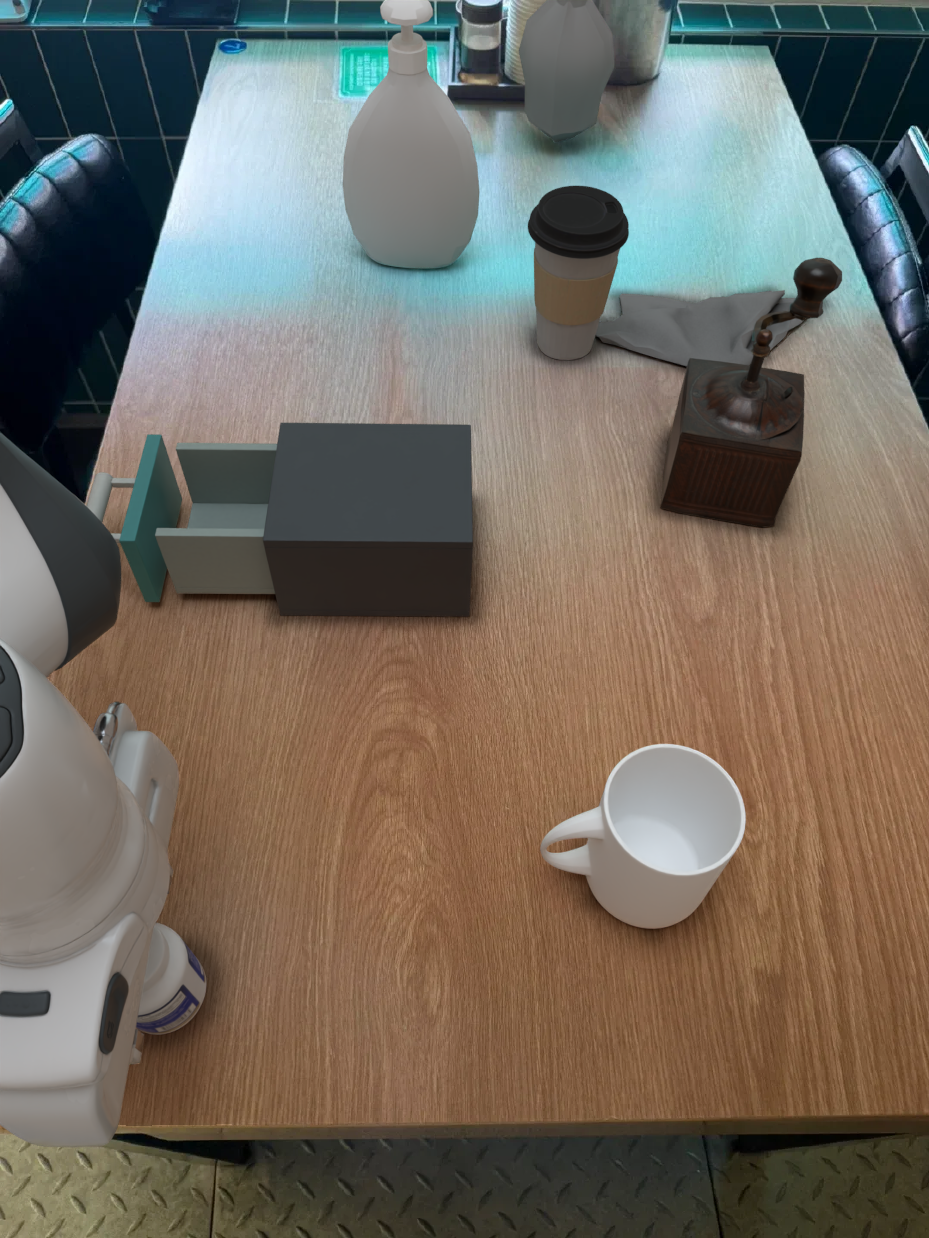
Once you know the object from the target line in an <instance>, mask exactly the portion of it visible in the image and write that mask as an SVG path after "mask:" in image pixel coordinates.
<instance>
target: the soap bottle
mask: <svg viewBox="0 0 929 1238" xmlns="http://www.w3.org/2000/svg"><path fill="white" fill-rule="evenodd" d="M379 8H380V10H379V11H380V15H381V19H382V20H384V21H385V22H387V23H390V24H392V25H396V26H397V25H398V26H400V32H398V33H395V34H393V36H392V37H391V38H390V40H389V41H388V43H387V54H388V55H387V57H388V58H387V59H388V70H387V73H386V75H385V76H384V77H383V78H382V80H380V82H379V83H378V84H377V86H375V88H374V89H373V90H372V91H371V92H370V94H369V95H368V96H367V98H366V100H365V101H364V103H363V105H362V106H361V108H360V110H359V112H358V113H357V115H356V116H355V118H354V120H353V121H352V123H351V125H350V126H349V128H348V132H347V137H346V143H345V147H344V152H343V159H342V160H343V162H342V163H343V165H342V169H343V170H342V192H343V200H344V209H345V213H346V216H347V219H348V222H349V225H350V228H351V231H352V234H353V237H354V238H355V239H356V241H357V243H359V245H360V246H361V248H362V249H363V251H364V252H365V254H366V255H367V256H368V258H370V259H371V260H372V261H374V262H376V263H378V264H380V265H381V264H382V265H383V266H389V267H390V266H391V267H396V268H405V269H426V270H427V269H440V268H447V267H449V266H451V265H453V264H454V263H455V262H457V260H458V259H459V258H460V257H461V255H462V254H463V253H464V251H465V249H466V248H467V247H468V246H469V244H470V242H471V240H472V238H473V233H474V231H475V228H476V223H477V220H478V217H479V208H480V207H479V206H480V181H479V170H478V161H477V157H476V153H475V148H474V144H473V140H472V134H471V132H470V131H469V128H468V127H467V125H466V124H465V123H464V122H465V121H463V119H462V117H461V115H460V114H459V112H458V111H457V109H456V107H455V106H454V104H453V103H452V101H451V99H450V98H449V96H448V95H447V94H446V92H445V91H444V90H443V89H442V88H441V86H440V85H439V84H438V83H437V82H436V81H435V80H434V78H433V77H432V76H431V75H430V72H429V70H428V44H427V43H428V42H427V41H426V40H425V39H424V38H423V36H422V35H421V34H419V33H417V32H414V26H419V25H422V24H424V23H427V22H429V21H430V20H431V18H432V17H434V9H433V7H432V3H431V2H430V1H429V0H383V2H382V3H381V5H380V6H379Z"/></svg>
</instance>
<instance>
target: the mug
mask: <svg viewBox="0 0 929 1238" xmlns="http://www.w3.org/2000/svg"><path fill="white" fill-rule="evenodd" d="M746 815H747V813H746V808H745V802H744V799H743V796H742V794H741V792H740V790H739V787H738V786H737V784H736V783H735V780H734V779H733V778H732V777H731V775H730V774H729V773H728V772H727V770H726V769H724V768H723V766H721V765H720V764H719V763H718V762H717V761H716V760H714V759H713V758H711V757H710V756H708V755H706V754H705V753H703V752H701V751H699V750H697V749H694V748H691V747H688V746H684V745H680V744H673V743H658V744H651V745H647V746H643V747H641V748H637V749H636V750H635V749H634V750H633V751H631V752H629V753H628V754H626V756H624V757H622V758H621V759H620V761H618V762H617V763H616V765H615V766H614V767H613V768H612V770H611V771H610V773H609V775H608V777H607V779H606V782H605V785H604V788H603V791H602V795H601V798H600V801H599V804H598V806H596V807H594V808H591V809H588V810H586V811H583V812H581V813H578V814H576V815H574V816H571V817H569V818H567V819H565V820H564V821H561V822H560V823H559V824H557V825H555V826H554V827H552V828H551V829H550V830H549V831H548V832H547V833H546V834H545V835H544V837H543V839H542V841H541V842H540V848H539V851H540V855H541V857H542V859H543V860H544V861H545V863H547V864H548V865H550V866H552V867H554V868H556V869H558V870H561V871H563V872H567V873H572V874H577V875H583V876H585V878H586V881H587V885H588V886H589V888H590V891H591V893H592V895H593V896H594V898H595V900H597V902H598V903H599V905H600V906H601V907H602V908H603V909H604V910H605V911H606V912H607V913H609V914H610V915H611V916H613V917H614V918H615V919H617V920H619V921H621V922H623V923H625V924H627V925H629V926H633V927H637V928H641V929H664V928H667V927H671V926H673V925H676V924H679V923H680V922H682V921H684V920H685V919H687V918H689V916H691V915H692V914H693V913H694V912H695V911H696V910H697V908H698V907H700V905H701V903H702V902H703V901H704V900H705V898H706V896H707V895H708V893H709V891H711V889H712V887H713V886H714V884H715V883H716V881H717V880H718V878H719V877H720V875H721V874H722V873H723V872H724V870H725V868H726V867H727V865H728V864H729V862H730V861H731V859H732V857H734V855H735V853H736V852H737V850H738V849H739V847H740V845H741V843H742V841H743V838H744V835H745V831H746V823H747V819H746V818H747V817H746ZM573 839H587V841H586V844H584V845H582V846H580V847H576V848H573V849H570V850H567V851H563V852H551V851H548V847H549V846H551V845H554V844H556V843H558V842H561V841H565V840H566V841H567V840H573Z"/></svg>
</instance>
